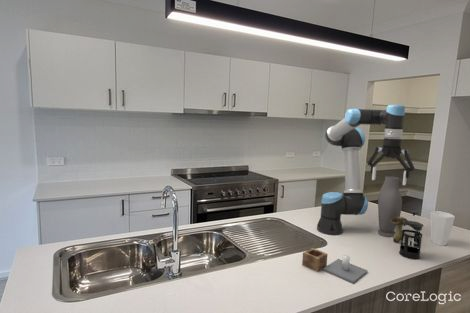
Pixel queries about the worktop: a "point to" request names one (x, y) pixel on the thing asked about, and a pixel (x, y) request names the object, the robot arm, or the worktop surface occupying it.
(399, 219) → the mushroom
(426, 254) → the worktop surface
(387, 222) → the vase
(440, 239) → the cup
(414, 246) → the french press
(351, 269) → the grey plate with knob
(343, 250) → the worktop surface
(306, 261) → the collar
